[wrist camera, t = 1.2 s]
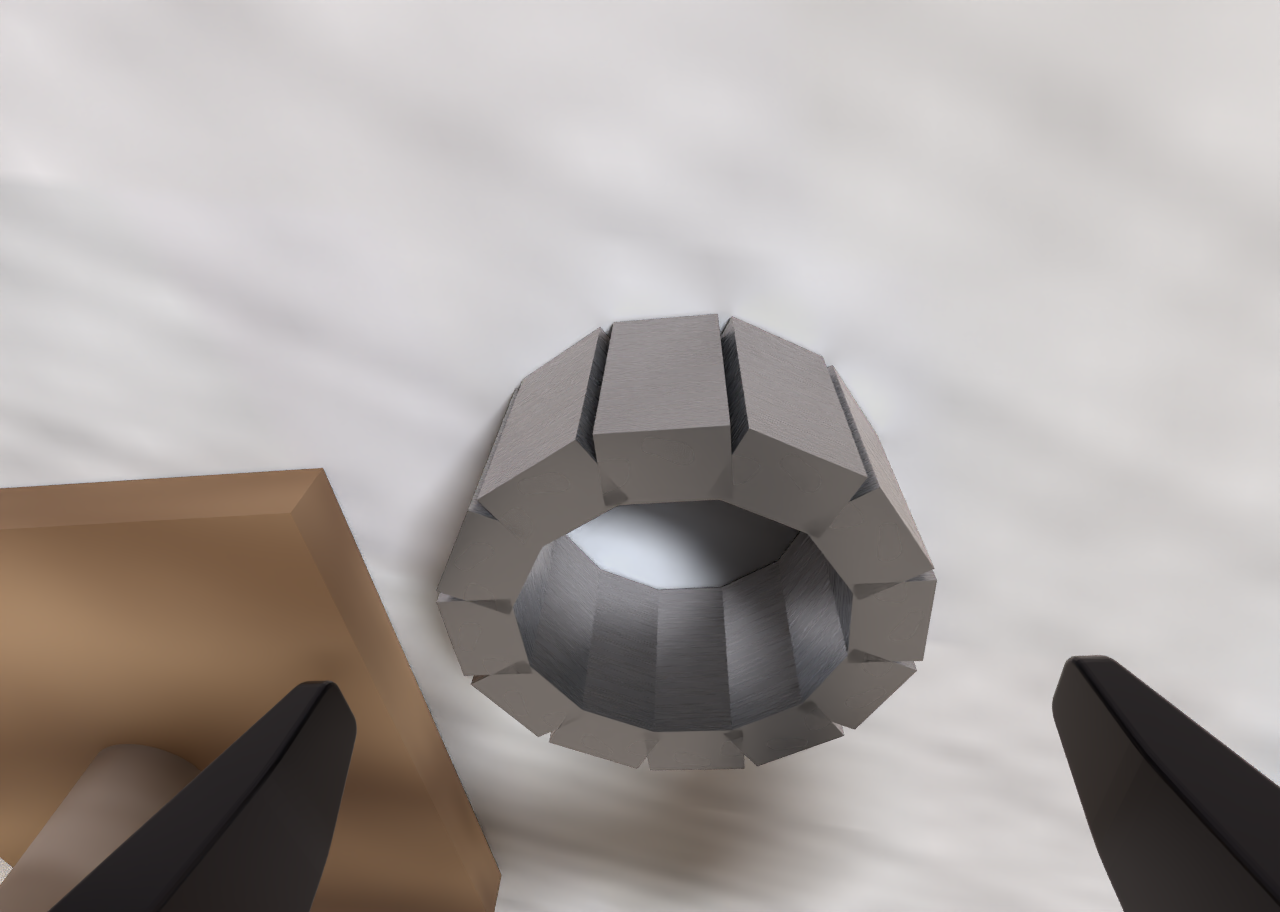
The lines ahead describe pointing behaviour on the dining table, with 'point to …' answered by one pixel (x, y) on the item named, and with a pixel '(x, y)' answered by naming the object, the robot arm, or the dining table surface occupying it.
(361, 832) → the shaft stand
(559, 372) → the hub ring
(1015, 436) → the dining table surface
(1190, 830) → the robot arm
